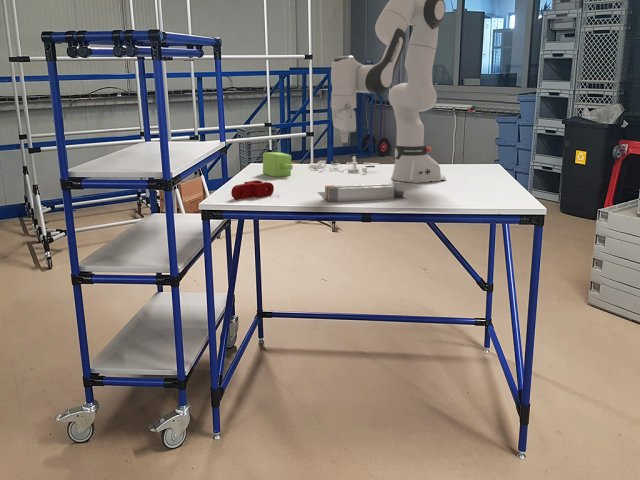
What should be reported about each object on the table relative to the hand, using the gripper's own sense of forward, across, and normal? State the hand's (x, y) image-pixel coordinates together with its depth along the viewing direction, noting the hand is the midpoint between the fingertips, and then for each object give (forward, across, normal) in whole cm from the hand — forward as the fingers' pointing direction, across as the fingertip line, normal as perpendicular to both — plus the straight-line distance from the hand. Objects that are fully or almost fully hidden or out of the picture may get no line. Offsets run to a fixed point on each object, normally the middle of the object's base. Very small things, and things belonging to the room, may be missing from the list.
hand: (344, 142), depth 211 cm
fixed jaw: (+18, -16, -3) cm, 24 cm away
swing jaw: (+17, -13, -1) cm, 22 cm away
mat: (+19, -10, -3) cm, 22 cm away
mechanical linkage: (+18, +1, +35) cm, 39 cm away
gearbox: (+19, +46, +18) cm, 53 cm away
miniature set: (+20, +52, -11) cm, 57 cm away
